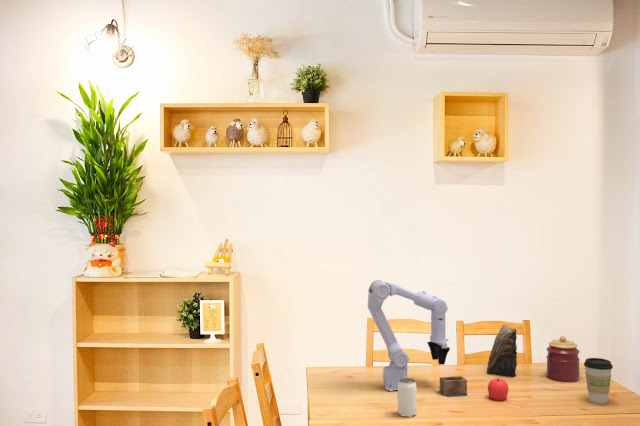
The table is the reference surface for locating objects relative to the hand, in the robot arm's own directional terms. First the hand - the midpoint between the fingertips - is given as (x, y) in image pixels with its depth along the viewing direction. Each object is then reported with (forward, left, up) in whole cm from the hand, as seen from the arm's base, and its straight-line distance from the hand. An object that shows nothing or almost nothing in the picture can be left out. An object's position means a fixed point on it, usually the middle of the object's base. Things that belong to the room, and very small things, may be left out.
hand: (438, 361), depth 240 cm
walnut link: (+2, -10, -9) cm, 13 cm away
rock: (+33, +12, -10) cm, 37 cm away
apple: (+16, -19, -10) cm, 27 cm away
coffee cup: (+51, -29, -10) cm, 60 cm away
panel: (+2, -10, -10) cm, 14 cm away
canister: (+55, 0, -10) cm, 56 cm away
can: (-23, -28, -10) cm, 37 cm away
